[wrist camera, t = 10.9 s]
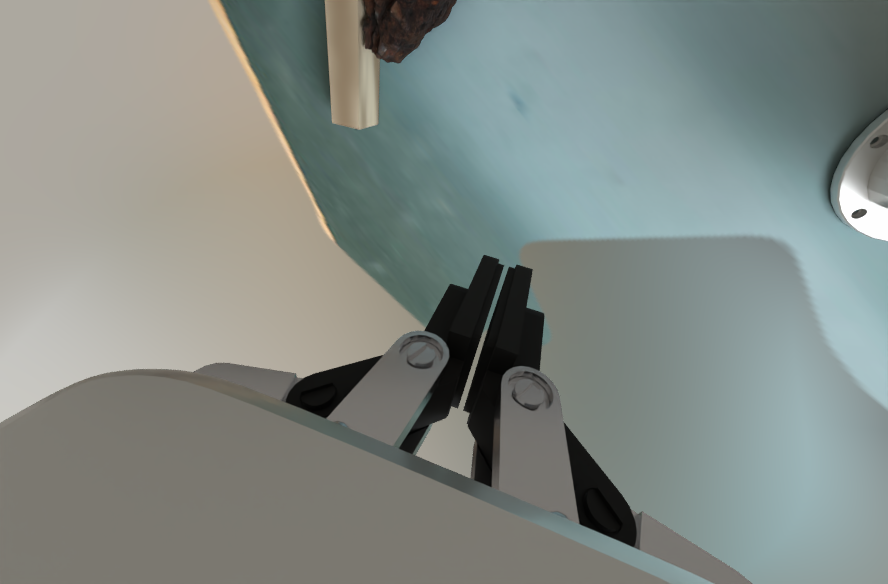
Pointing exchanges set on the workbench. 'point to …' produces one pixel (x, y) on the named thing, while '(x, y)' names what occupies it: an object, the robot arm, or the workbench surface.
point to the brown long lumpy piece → (401, 25)
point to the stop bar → (351, 66)
